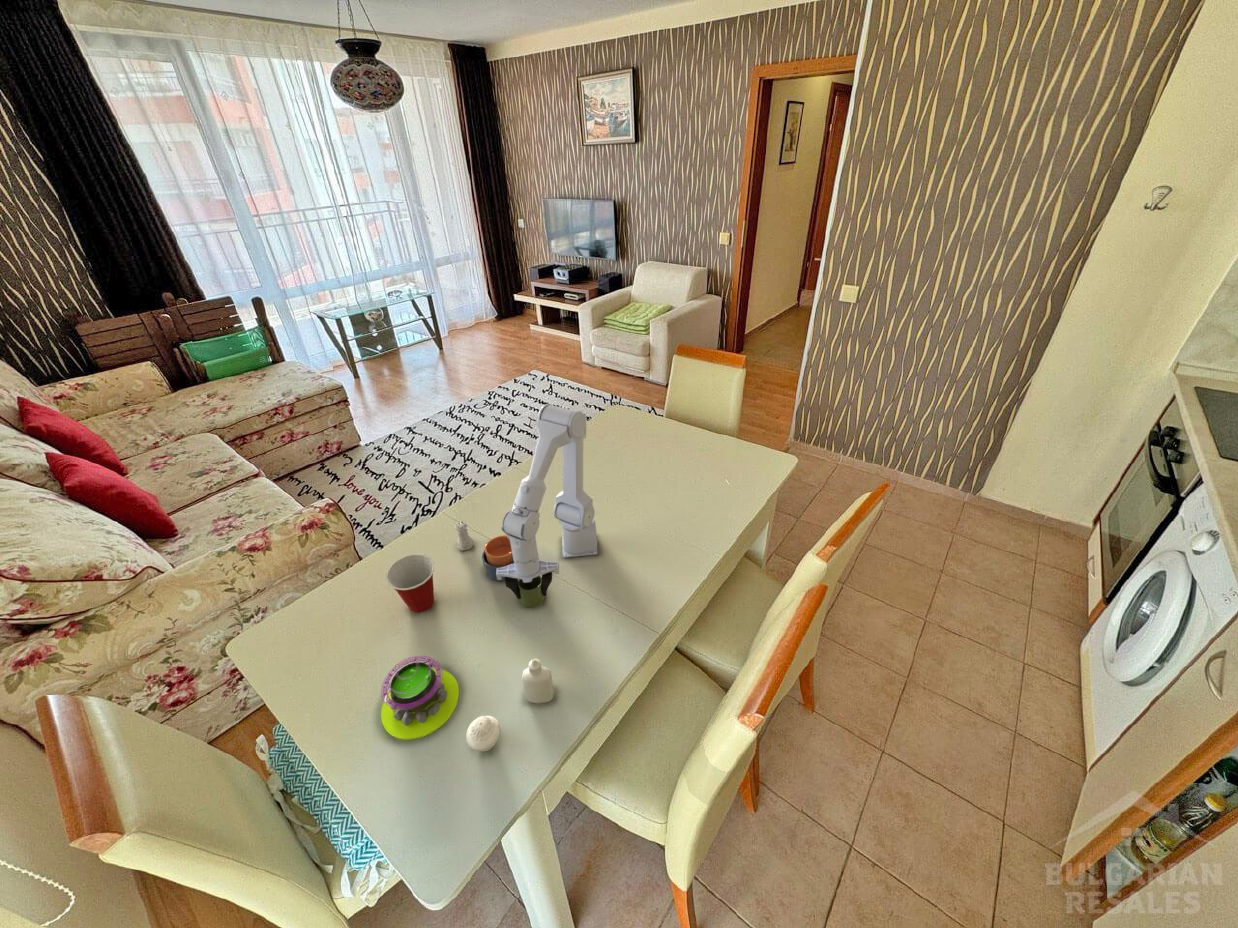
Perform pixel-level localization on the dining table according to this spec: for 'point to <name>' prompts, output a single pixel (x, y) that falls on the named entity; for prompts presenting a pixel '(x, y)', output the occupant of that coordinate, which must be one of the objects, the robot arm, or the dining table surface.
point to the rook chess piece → (463, 536)
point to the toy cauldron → (418, 699)
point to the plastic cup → (413, 581)
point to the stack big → (491, 569)
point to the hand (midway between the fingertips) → (531, 594)
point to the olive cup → (531, 592)
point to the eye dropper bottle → (537, 683)
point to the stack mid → (499, 551)
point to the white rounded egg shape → (483, 733)
